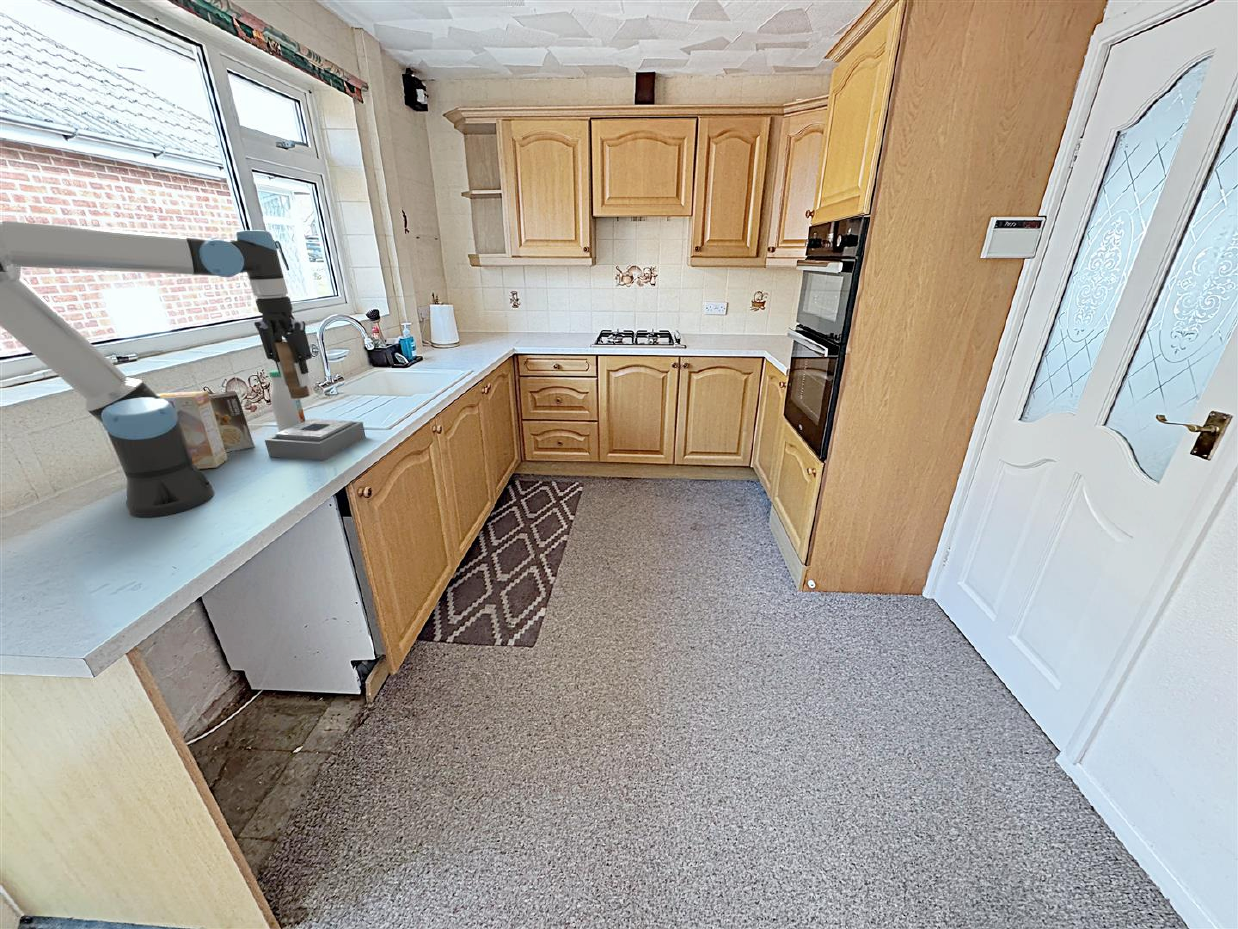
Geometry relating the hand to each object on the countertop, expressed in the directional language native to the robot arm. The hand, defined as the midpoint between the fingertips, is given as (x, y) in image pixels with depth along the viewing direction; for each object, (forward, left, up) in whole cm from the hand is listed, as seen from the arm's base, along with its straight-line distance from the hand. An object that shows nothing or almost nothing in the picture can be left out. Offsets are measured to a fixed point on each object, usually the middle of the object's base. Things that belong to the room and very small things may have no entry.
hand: (297, 384), depth 138 cm
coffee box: (-2, +24, -20) cm, 31 cm away
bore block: (+3, +1, -19) cm, 20 cm away
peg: (0, 0, -3) cm, 3 cm away
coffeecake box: (-16, +24, -19) cm, 35 cm away
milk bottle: (+13, +17, -20) cm, 29 cm away
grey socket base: (+3, +1, -19) cm, 20 cm away
